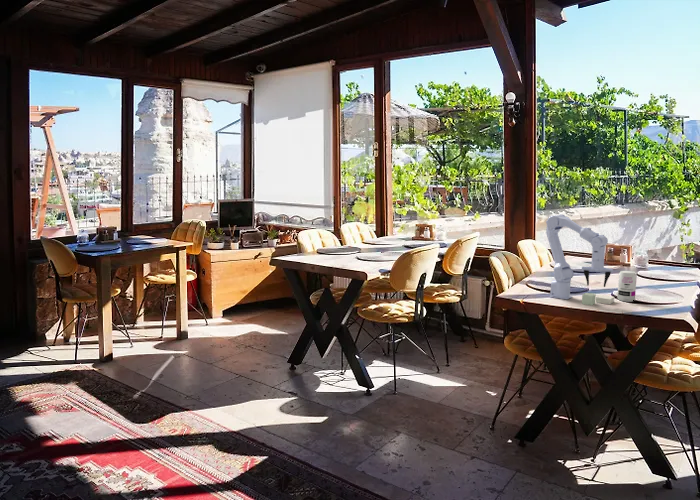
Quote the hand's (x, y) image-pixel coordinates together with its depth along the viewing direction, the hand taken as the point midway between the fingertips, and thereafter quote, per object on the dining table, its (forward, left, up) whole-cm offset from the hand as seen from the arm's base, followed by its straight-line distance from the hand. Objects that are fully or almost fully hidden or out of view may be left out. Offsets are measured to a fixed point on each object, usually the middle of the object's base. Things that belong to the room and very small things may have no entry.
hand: (596, 285), depth 290 cm
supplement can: (+10, +18, -10) cm, 23 cm away
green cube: (-3, -1, -10) cm, 10 cm away
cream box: (+3, +7, -10) cm, 13 cm away
